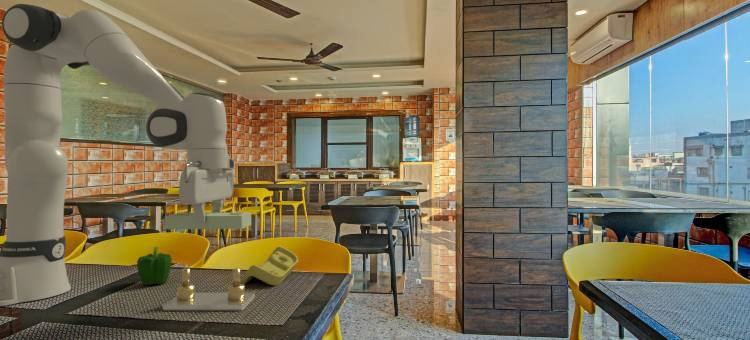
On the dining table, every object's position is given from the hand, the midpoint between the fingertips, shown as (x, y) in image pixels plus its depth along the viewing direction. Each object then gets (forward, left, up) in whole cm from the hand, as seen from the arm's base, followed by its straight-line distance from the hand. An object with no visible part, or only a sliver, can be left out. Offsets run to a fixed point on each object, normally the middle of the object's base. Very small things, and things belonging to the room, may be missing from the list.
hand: (209, 220), depth 92 cm
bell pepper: (-23, +17, -20) cm, 35 cm away
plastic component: (+9, +24, -20) cm, 33 cm away
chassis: (0, 0, -20) cm, 20 cm away
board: (0, 0, -2) cm, 2 cm away
